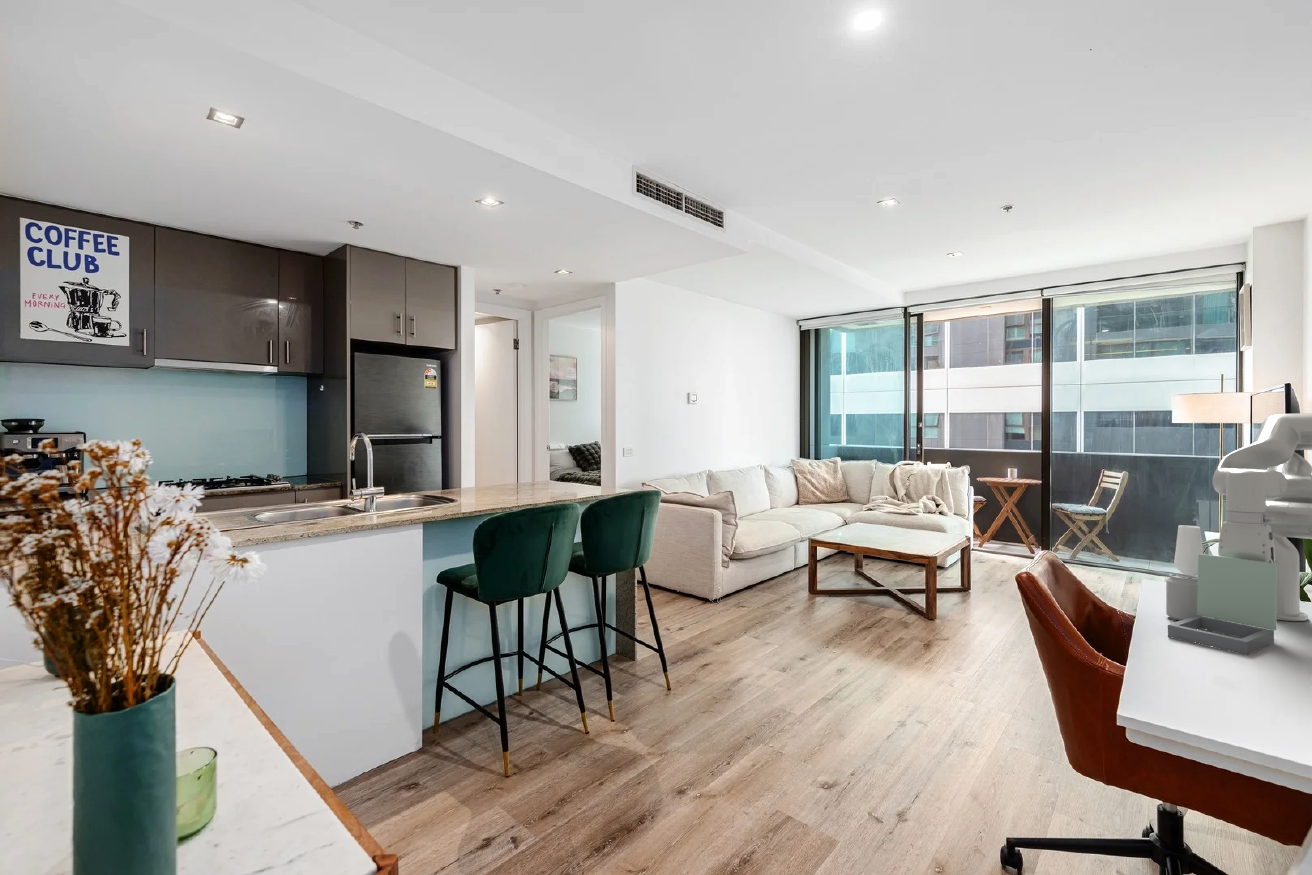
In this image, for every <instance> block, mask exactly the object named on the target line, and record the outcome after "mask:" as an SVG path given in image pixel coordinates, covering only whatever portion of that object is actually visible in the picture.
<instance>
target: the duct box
mask: <svg viewBox="0 0 1312 875" xmlns="http://www.w3.org/2000/svg"><path fill="white" fill-rule="evenodd" d="M1197 629H1200V630H1197ZM1203 629H1207V630H1203ZM1208 630H1210V631H1208ZM1213 631H1214V632H1213ZM1222 633H1224V635H1223V634H1222ZM1167 637H1168V638H1171V637H1173V638H1172V639H1175V638H1177V639H1176V640H1180V639H1181V640H1180V641H1184V640H1185V642H1188V641H1189V642H1190V643H1193V642H1196V643H1195V644H1197V643H1200V644H1199V645H1201V644H1203V645H1202V646H1206V645H1207V646H1206V647H1210V646H1213V647H1212V648H1214V647H1216V648H1215V649H1219V648H1220V649H1219V650H1224V651H1227V650H1230V651H1229V652H1232V651H1233V652H1232V653H1237V654H1241V655H1245V654H1246V656H1248V655H1250V654H1252V653H1255V652H1257V651H1259V650H1261V649H1264V648H1266V647H1268V646H1270V645H1273V644H1275V630H1270V629H1265V628H1260V627H1255V626H1249V625H1244V624H1239V623H1234V622H1229V621H1224V620H1219V619H1214V618H1209V617H1204V616H1198V615H1195V616H1192V617H1189V618H1187V619H1184V620H1181V621H1175V622H1172V623H1168V624H1167Z"/></svg>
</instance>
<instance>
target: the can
mask: <svg viewBox="0 0 1312 875" xmlns="http://www.w3.org/2000/svg"><path fill="white" fill-rule="evenodd" d="M1168 576H1169V577H1168V578H1167V579H1166V582H1165V583H1166V584H1165V585H1166V588H1165V590H1166V594H1165V595H1166V601H1165V604H1166V605H1165V608H1166V610H1165V612H1166V614H1165V615H1167V616H1168V617H1169V618H1170V619H1171V620H1173V621H1176V620H1179V621H1181V620H1184V619H1187V618H1189V617H1192V616H1195V615H1197V596H1198V577H1196V576H1192V575H1185V574H1183V573H1170V574H1169V575H1168ZM1198 616H1199V615H1198Z"/></svg>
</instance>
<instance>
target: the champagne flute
mask: <svg viewBox="0 0 1312 875" xmlns="http://www.w3.org/2000/svg"><path fill="white" fill-rule="evenodd" d="M1175 545H1176V546H1175V553H1174V562H1173V563H1174V564H1173V565H1174V566H1175V568H1176V569H1177V570H1178V571H1179V572H1180V574H1185V575H1192V576H1196V575H1197V574H1198V556H1199V554H1205V553H1204V546H1203V537H1202V532H1201V527H1200V526H1197V525H1187V524H1186V525H1183V524H1182V525H1181V524H1180V525H1178V527H1177V535H1176V544H1175Z"/></svg>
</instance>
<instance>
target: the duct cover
mask: <svg viewBox="0 0 1312 875" xmlns="http://www.w3.org/2000/svg"><path fill="white" fill-rule="evenodd" d="M1277 576H1278V564H1276V563H1268V562H1260V561H1253V560H1245V559H1237V558H1229V557H1222V556H1219V555H1214V554H1206V553H1204V554H1199V556H1198V596H1197V615H1199V616H1203V617H1208V618H1213V619H1218V620H1223V621H1228V622H1233V623H1238V624H1243V625H1248V626H1253V627H1258V628H1264V629H1269V630H1274V631H1276V630H1277V621H1278V620H1277Z"/></svg>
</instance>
